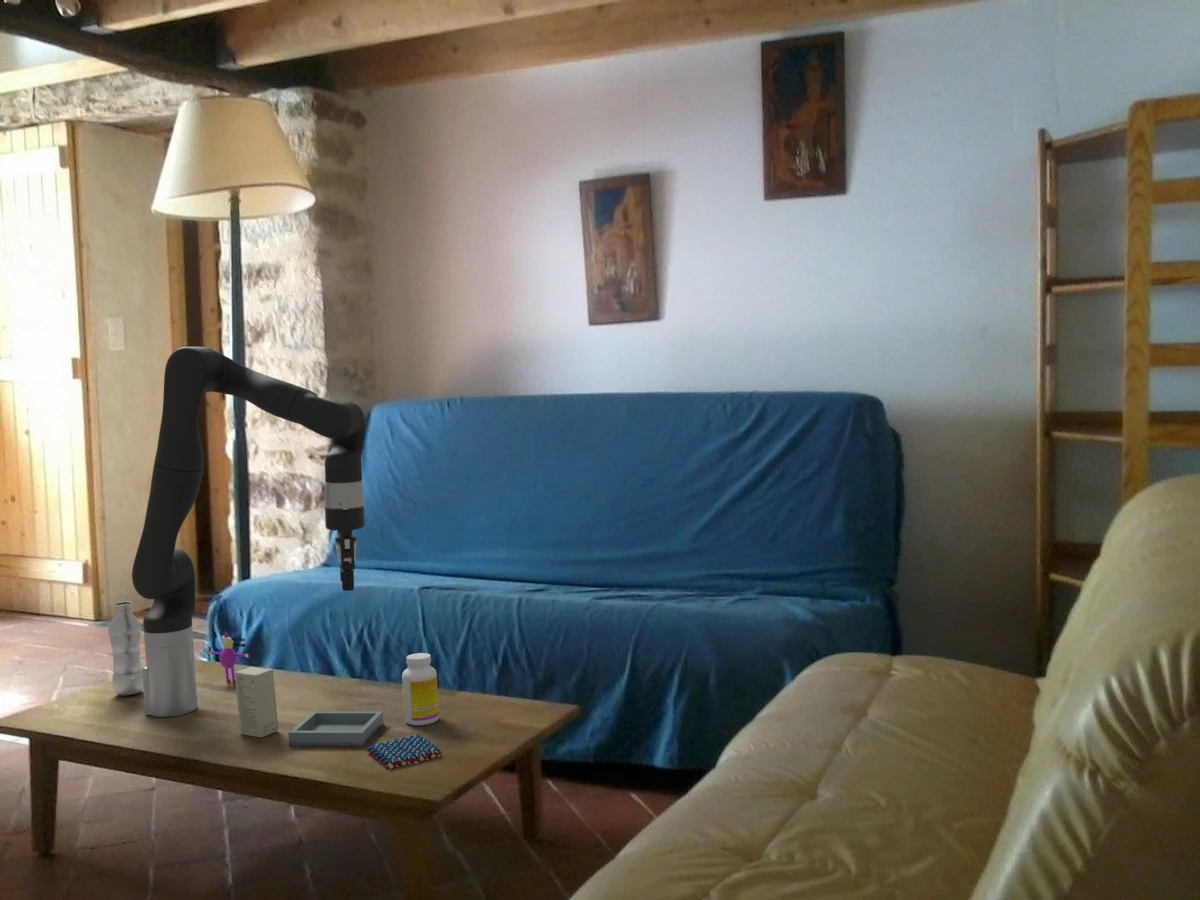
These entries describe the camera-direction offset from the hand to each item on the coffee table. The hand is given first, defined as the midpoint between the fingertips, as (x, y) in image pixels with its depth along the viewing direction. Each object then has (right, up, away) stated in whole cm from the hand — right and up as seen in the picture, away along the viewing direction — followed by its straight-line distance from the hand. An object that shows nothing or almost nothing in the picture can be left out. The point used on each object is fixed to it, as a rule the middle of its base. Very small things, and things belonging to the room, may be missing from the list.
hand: (347, 585), depth 212 cm
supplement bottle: (+15, -26, -3) cm, 30 cm away
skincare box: (-15, -27, -7) cm, 32 cm away
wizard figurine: (-33, -25, +27) cm, 50 cm away
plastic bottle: (-52, -27, +22) cm, 63 cm away
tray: (0, -27, -9) cm, 28 cm away
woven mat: (+15, -28, -21) cm, 38 cm away
